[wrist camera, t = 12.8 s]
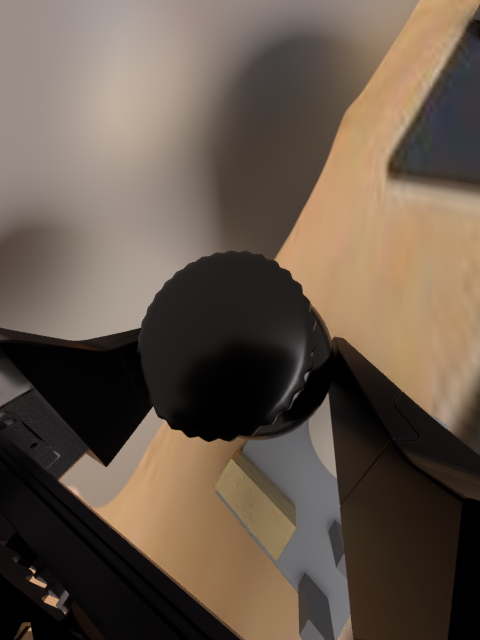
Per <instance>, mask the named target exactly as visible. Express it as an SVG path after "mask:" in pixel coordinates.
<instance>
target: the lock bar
mask: <svg viewBox="0 0 480 640" xmlns="http://www.w3.org/2000/svg"><path fill="white" fill-rule="evenodd" d="M214 487H215V488H216V490H217V491H218V492H219V493H220V494H221V496H222V497H223V498H224V499H225V500H226V502H227V503H228V504H229V505H230V507H231V508H232V509H233V510H234V511H235V513H236V514H237V515H238V516H239V517H240V519H241V520H242V521H243V522H244V523H245V525H246V526H247V527H248V528H249V529H250V531H251V532H252V533H253V534H254V536H255V537H256V538H257V539H258V540H259V542H260V543H261V544H262V545H263V546H264V548H265V549H266V550H267V551H268V552H269V554H270V555H271V556H272V557H273V559H274V560H275V561H276V562H277V560H278V558H279V557H280V555H281V553H282V552H283V550H284V548H285V546H286V545H287V543H288V541H289V539H290V538H291V536H292V534H293V532H294V531H295V529H296V506H295V505H294V504H293V503H292V502H291V501H290V500H289V499H288V498H287V497H286V496H285V495H284V494H283V493H282V492H281V491H280V490H279V489H278V488H277V487H276V486H275V485H274V484H273V483H272V482H271V481H270V480H269V479H268V478H267V477H266V476H265V475H264V474H263V473H262V472H261V471H260V470H259V469H258V468H257V467H256V466H255V465H254V464H253V463H252V462H251V461H250V460H249V459H248V458H247V457H246V456H245V454H244V453H243V452H242V451H241V450H240V449H239V448H238V449H237V451H236V452H235V454H234V455H233V457H232V458H231V459H230V461H229V463H228V464H227V466H226V467H225V469H224V471H223V472H222V474H221V475H220V477H219V479H218V480H217V482H216V483H215V485H214Z"/></svg>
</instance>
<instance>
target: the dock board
mask: <svg viewBox="0 0 480 640" xmlns="http://www.w3.org/2000/svg"><path fill="white" fill-rule="evenodd" d="M431 417H432V416H431ZM433 418H434V417H433ZM434 419H435V420H436V421H438V422H439V423H440V424H441V425H442V426H444V427H445V428H446V429H448V427H449V426H448V425H446V424H444V423H442V422H441V421H439V420H437V419H436V418H434ZM242 452H243V453H244V454H245V456H246V457H247V458H248V459H249V460H250V461H251V462H252V463H253V464H254V465H255V466H256V467H257V468H258V469H259V470H260V471H261V472H262V473H263V474H264V475H265V476H266V477H267V478H268V479H269V480H270V481H271V482H272V483H273V484H274V485H275V486H276V487H277V488H278V489H279V490H280V491H281V492H282V493H283V494H284V495H285V496H286V497H287V498H288V499H289V500H290V501H291V502H292V503H293V504H294V505H295V506H296V529H295V531H294V532H293V534H292V536H291V538H290V539H289V541H288V543H287V545H286V546H285V548H284V550H283V552H282V553H281V555H280V557H279V558H278V560H277V562H276V561H275V560H274V559H273V557H272V556H271V555H270V554H269V552H268V551H267V550H266V549H265V548H264V546H263V545H262V544H261V543H260V542H259V540H258V539H257V538H256V537H255V536H254V534H253V533H252V532H251V531H250V529H249V528H248V527H247V526H246V525H245V523H244V522H243V521H242V520H241V519H240V517H239V516H238V515H237V514H236V513H235V511H234V510H233V509H232V508H231V507H230V505H229V504H228V503H227V502H226V500H225V499H224V498H223V497H222V496H221V494H220V493H219V492H218V491H216V493H217V495H218V496H219V497H220V498H221V499H222V501H223V502H224V503H225V504H226V506H227V507H228V508H229V509H230V510H231V512H232V513H233V514H234V515H235V517H236V518H237V519H238V520H239V521H240V523H241V524H242V525H243V526H244V528H245V529H246V530H247V531H248V532H249V534H250V535H251V536H252V537H253V539H254V540H255V541H256V542H257V543H258V545H259V546H260V547H261V548H262V550H263V551H264V552H265V553H266V554H267V556H268V557H269V558H270V559H271V561H272V562H273V563H274V564H275V565H276V567H277V568H278V569H279V570H280V571H281V573H282V574H283V575H284V576H285V578H286V579H287V580H288V581H289V582H290V584H291V585H292V586H293V587H294V589H295V590H296V591H297V592H298V595H299V634H300V637H301V638H302V639H303V640H335V639H336V640H337V638H338V637H339V635H340V633H341V631H342V629H343V627H344V625H345V623H346V621H347V619H348V617H349V616H350V614H351V613H350V604H349V594H348V584H347V574H346V564H345V554H344V544H343V534H342V524H341V514H340V503H339V494H338V484H337V474H336V464H335V454H334V444H333V434H332V424H331V414H330V404H329V395H328V394H327V396H326V398H325V400H324V401H323V403H322V405H321V406H320V408H319V409H318V410H317V412H316V413H315V414H314V415H313V416H312V417H311V418H310V419H309V420H308V421H307V422H306V423H305V424H303V425H302V426H301V427H299V428H298V429H296V430H295V431H293V432H291V433H289V434H286V435H284V436H281V437H278V438H274V439H269V440H248V441H247V443H246V445H245V446H244V448H243V449H242ZM334 637H335V638H334Z"/></svg>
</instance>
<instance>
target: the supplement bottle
mask: <svg viewBox="0 0 480 640" xmlns="http://www.w3.org/2000/svg"><path fill="white" fill-rule="evenodd" d="M136 355H137V358H138V365H137V371H138V373H139V375H140V380H141V387H142V389H143V390H144V391H145V392H146V397H147V401H148V403H149V404H150V405H152V406H153V407H154V408H155V411H156V414H157V416H158V417H159V418H161V419H164V420H166V421H167V423H168V425H169V426H170V428H171V429H174V430H181V431H182V432H183V433H184V434H185V435H186V436H187V437H189V438H193V437H198V436H199V437H200V438H202V439H203V440H205V441H207V442H211V441H214V440H217V439H218V438H219V439H222V440H224V441H229V442H231V441H233V440H234V439H236V438H241V439H246V440H269V439H274V438H278V437H281V436H284V435H286V434H289V433H291V432H293V431H295V430H296V429H298V428H299V427H301V426H302V425H303V424H305V423H306V422H307V421H308V420H309V419H310V418H311V417H312V416H313V415H314V414H315V413H316V412H317V410H318V409H319V408H320V406H321V405H322V403H323V401H324V400H325V398H326V396H327V394H328V391H329V389H330V385H331V382H332V378H333V373H334V350H333V344H332V340H331V336H330V334H329V331H328V328H327V326H326V324H325V322H324V320H323V319H322V317H321V316H320V314H319V313H318V311H317V310H316V309H315V308H314V307H313V306H312V305H311V302H310V301H309V300H308V298H307V297H306V296H304V295H303V290H302V286H301V284H299V283H298V282H297V281H295V280H293V279H292V275H291V273H290V271H288V270H286V269H283V268H280V266H279V264H278V263H277V262H276V261H274V260H268V259H266V258H265V257H264V256H263V255H262V254H252V253H250V252H248V251H242V252H236V251H228V252H226V253H215V254H213V255H211V256H206V257H201V258H200V259H199V260H197V261H196V262H192V263H189V264H188V265H187V266H186V267H185V268H184V269H182V270H180V271H178V272H176V273H175V275H174V276H173V277H172V279H170V280H168V281H167V282H165V284H164V286H163V288H162V289H161V290H160V291H159V292H158V293H157V294H156V295H155V298H154V300H153V302H152V303H151V304H150V306H149V307H148V309H147V314H146V316H145V318H144V319H143V321H142V325H141V331H140V333H139V336H138V348H137V352H136Z"/></svg>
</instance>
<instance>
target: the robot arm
mask: <svg viewBox="0 0 480 640" xmlns="http://www.w3.org/2000/svg"><path fill="white" fill-rule="evenodd" d="M140 331H141V328H138V329H135V330H130V331H127V332H122V333H117V334H112V335H108V336H103V337H99V338H93V339H89V340H81V341H71V340H64V339H58V338H53V337H47V336H42V335H36V334H31V333H25V332H19V331H14V330H9V329H4V328H0V640H245V639H243V638H242V637H241V636H240V635H239V634H238V633H236V632H235V631H234V630H233V629H232V628H231V627H229V626H228V625H227V624H226V623H225V622H224V621H222V620H221V619H220V618H219V617H218V616H217V615H215V614H214V613H213V612H212V611H211V610H210V609H208V608H207V607H206V606H205V605H204V604H203V603H201V602H200V601H199V600H198V599H197V598H196V597H194V596H193V595H192V594H191V593H190V592H189V591H187V590H186V589H185V588H184V587H183V586H182V585H180V584H179V583H178V582H177V581H176V580H175V579H173V578H172V577H171V576H170V575H169V574H168V573H166V572H165V571H164V570H163V569H162V568H161V567H159V566H158V565H157V564H156V563H155V562H154V561H152V560H151V559H150V558H149V557H148V556H147V555H145V554H144V553H143V552H142V551H141V550H140V549H138V548H137V547H136V546H135V545H134V544H133V543H131V542H130V541H129V540H128V539H127V538H126V537H124V536H123V535H122V534H121V533H120V532H119V531H117V530H116V529H115V528H114V527H113V526H112V525H110V524H109V523H108V522H107V521H106V520H105V519H103V518H102V517H101V516H100V515H99V514H98V513H96V512H95V511H94V510H93V509H92V508H91V507H89V506H88V505H87V504H86V503H85V502H84V501H82V500H81V499H80V498H79V497H78V496H77V495H75V494H74V493H73V492H72V491H71V490H70V489H68V488H67V487H66V486H65V485H64V484H63V483H61V482H60V481H59V480H60V479H61V478H62V477H63V476H64V475H65V474H66V473H67V472H68V471H69V470H70V469H71V468H72V467H73V466H74V465H75V464H76V463H77V462H78V461H79V460H80V459H81V458H82V457H83V456H84V455H85V454H88V455H89V456H91V457H92V458H93V459H95V460H97V461H98V462H99V463H101V464H102V465H103V466H105V467H107V466H108V465H109V464H110V462H111V461H112V460H113V459H114V457H115V456H116V455H117V453H118V452H119V451H120V449H121V448H122V447H123V445H124V444H125V443H126V441H127V440H128V439H129V438H130V436H131V435H132V434H133V432H134V431H135V430H136V428H137V427H138V425H139V424H140V423H141V421H142V420H143V419H144V418H145V416H146V415H147V413H148V412H149V411H150V410H151V408H152V407H153V406H152V405H150V404H149V403H148V401H147V397H146V392H145V391H144V390H143V389H142V387H141V380H140V375H139V373H138V371H137V365H138V358H137V355H136V352H137V348H138V336H139V333H140ZM332 344H333V350H334V373H333V378H332V382H331V385H330V389H329V391H328V395H329V404H330V414H331V424H332V434H333V444H334V454H335V464H336V474H337V484H338V494H339V503H340V514H341V524H342V534H343V544H344V554H345V564H346V574H347V584H348V594H349V604H350V613H351V623H352V632H353V638H354V640H480V455H479V454H477V453H476V452H475V451H474V450H472V449H471V448H470V447H469V446H467V445H466V444H465V443H464V442H462V441H461V440H460V439H459V438H457V437H456V436H455V435H454V434H452V433H451V432H450V431H449V430H447V429H446V428H445V427H444V426H442V425H441V424H440V423H439V422H438V421H436V420H435V419H434V418H433V417H431V416H430V415H429V414H428V413H427V412H425V411H424V410H423V409H422V408H421V407H420V406H419V405H417V404H416V403H415V402H414V401H413V400H412V399H411V398H409V397H408V396H407V395H406V394H405V393H404V392H401V390H400V389H399V388H398V387H397V386H396V385H395V384H394V383H393V382H392V381H390V380H389V379H388V378H387V377H386V376H385V375H384V374H383V373H382V372H380V371H379V370H378V369H377V368H376V367H375V366H374V365H373V364H372V363H370V362H369V361H368V360H367V359H366V358H365V357H364V356H363V355H362V354H360V353H359V352H358V351H357V350H356V349H355V348H354V347H353V346H352V345H350V344H349V343H348V342H347V341H346V340H345V339H344V338H339V337H334V338H333V340H332ZM29 568H31V569H33V570H35V571H36V572H35V573H33V572H32V571H31V570H30V569H29ZM33 576H34V577H35V579H37V580H39V581H41V582H43V583H45V584H47V586H46V587H45V588H43V587H41V586H38V585H36V584H34V583H32V582H30V579H31V578H32V577H33ZM48 595H51V596H53V597H55V598H57V599H59V601H58V603H57V604H56V606H57V608H56V607H54V606H51V605H49V604H47V603H45V602H44V601H45V599H46V598H47V597H48ZM64 612H66V614H64ZM30 627H31V630H32V631H28V629H29V628H30Z"/></svg>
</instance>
